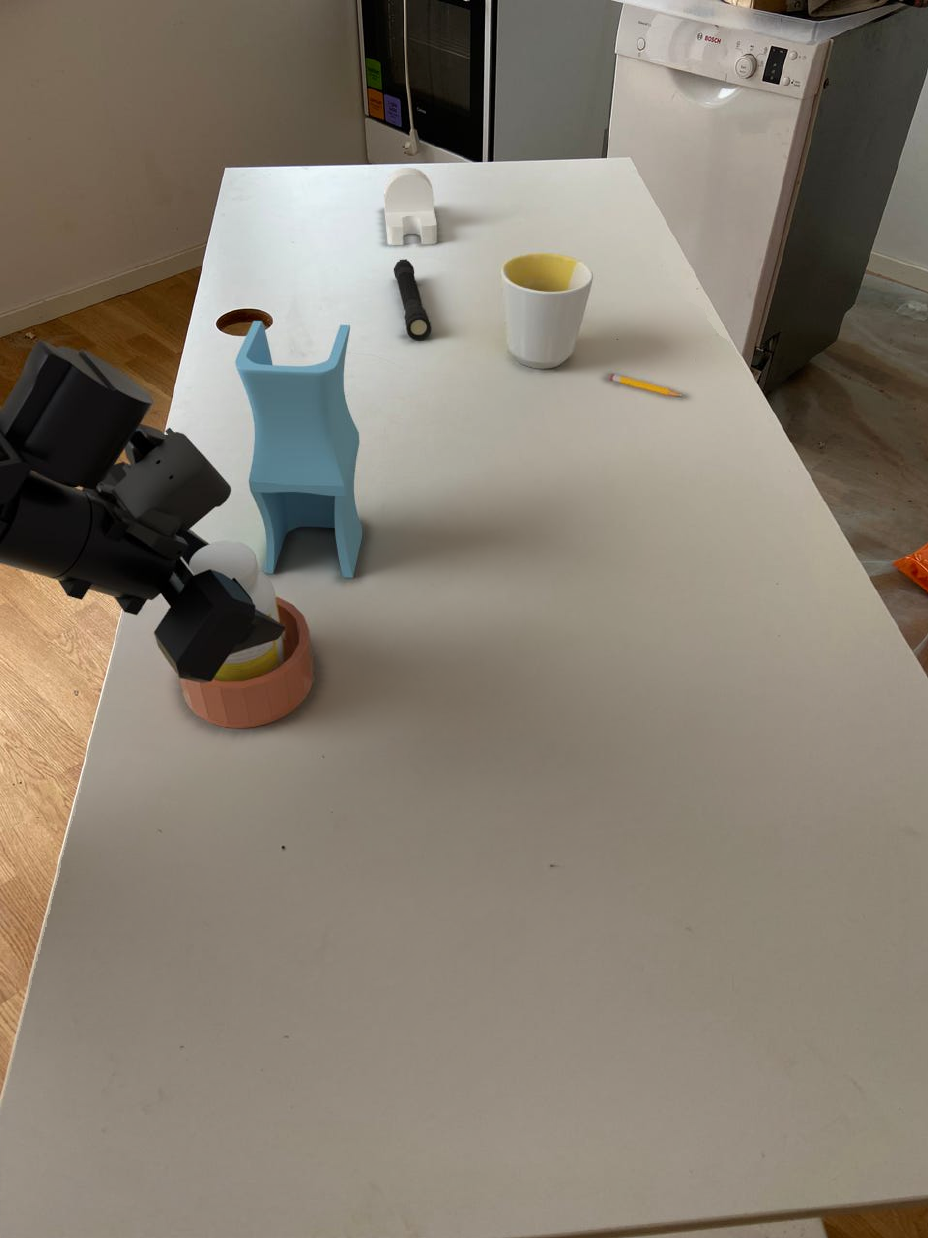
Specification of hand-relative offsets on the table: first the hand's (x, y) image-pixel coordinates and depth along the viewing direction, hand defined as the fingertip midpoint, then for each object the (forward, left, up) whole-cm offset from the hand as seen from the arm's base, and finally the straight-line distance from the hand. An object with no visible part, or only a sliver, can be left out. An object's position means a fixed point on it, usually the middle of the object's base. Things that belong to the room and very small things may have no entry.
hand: (251, 596), depth 72 cm
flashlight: (+31, +56, -8) cm, 64 cm away
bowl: (-1, 0, -8) cm, 8 cm away
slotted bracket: (+39, +81, -8) cm, 90 cm away
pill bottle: (-2, 0, -8) cm, 8 cm away
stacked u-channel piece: (+8, +14, -8) cm, 18 cm away
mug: (+42, +41, -8) cm, 59 cm away
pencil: (+50, +29, -8) cm, 58 cm away
